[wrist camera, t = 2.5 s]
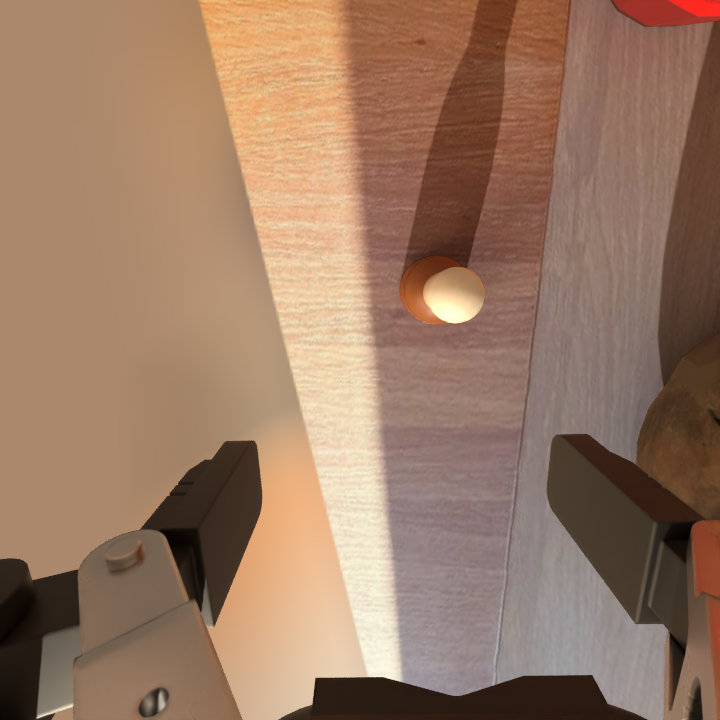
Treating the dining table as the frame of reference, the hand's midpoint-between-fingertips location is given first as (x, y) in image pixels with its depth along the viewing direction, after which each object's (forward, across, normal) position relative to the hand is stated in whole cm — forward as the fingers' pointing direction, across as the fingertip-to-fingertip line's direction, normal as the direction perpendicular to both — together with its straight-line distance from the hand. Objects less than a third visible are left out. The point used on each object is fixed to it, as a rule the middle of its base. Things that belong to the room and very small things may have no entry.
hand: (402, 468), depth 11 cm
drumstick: (+24, -5, -3) cm, 24 cm away
